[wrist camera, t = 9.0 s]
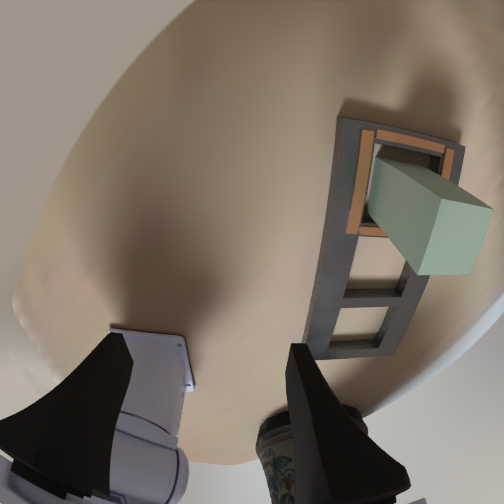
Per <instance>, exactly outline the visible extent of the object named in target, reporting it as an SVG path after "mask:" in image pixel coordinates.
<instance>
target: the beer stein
mask: <svg viewBox="0 0 504 504" xmlns="http://www.w3.org/2000/svg"><path fill="white" fill-rule="evenodd" d="M341 405H342V406H343V407H344V409H345V410H346V411H347V413H348V414H349V415H350V416H351V418H352V419H353V420H354V421H355V422H356V424H357V425H358V426H359V427H360V428H361V429H362V430H363V431H364V432H365V433H366V434H367V435H368V428H367V426H366V424H365V423H364V421H363V419H362V417H361V414H360V413H359V412H358V410H357V409H356V408H353V407H350V406H347V405H344V404H341ZM256 453H257V455H258V457H259V459H260V461H261V463H262V466H263V470H264V472H265V476H266V479H267V484H268V488H269V492H270V497H271V500H272V504H294V501H295V464H294V442H293V434H292V427H291V421H290V415H289V411H286V412H282V413H280V414H278V415H276V416H274V417H272V418H270V419H268V420H266V421H265V422H264V423H263V424H262V425H261V426H260V430H259V434H258V438H257V442H256Z"/></svg>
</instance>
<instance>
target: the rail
mask: <svg viewBox="0 0 504 504" xmlns="http://www.w3.org/2000/svg"><path fill="white" fill-rule="evenodd" d="M374 143H377V144H383V145H388V146H394V147H399V148H404V149H409V150H413V151H418V152H422V153H427V154H431V155H432V159H431V164H430V170H431V171H433V172H435V173H436V174H438V175H440V176H442V177H443V178H445V179H447V180H449V181H450V182H452V183H454V184H455V185H457V186H458V183H459V178H460V174H461V169H462V164H463V158H464V153H465V146H462V145H460V144H457V143H454V142H451V141H447V140H444V139H440V138H437V137H433V136H430V135H426V134H422V133H418V132H414V131H410V130H406V129H402V128H397V127H392V126H388V125H383V124H378V123H372V122H367V121H361V120H355V119H349V118H342V117H337V125H336V136H335V146H334V155H333V164H332V173H331V181H330V188H329V196H328V203H327V210H326V217H325V224H324V230H323V236H322V242H321V248H320V254H319V260H318V266H317V271H316V277H315V282H314V287H313V292H312V297H311V302H310V307H309V312H308V317H307V321H306V326H305V331H304V335H303V339H302V343H306V344H307V345H308V347H309V349H310V351H311V354H312V356H313V358H314V360H330V359H346V358H359V357H370V356H380V355H389V354H394V352H395V350H396V348H397V346H398V344H399V343H400V341H401V339H402V337H403V335H404V333H405V331H406V329H407V327H408V325H409V323H410V320H411V318H412V316H413V314H414V312H415V310H416V308H417V305H418V303H419V301H420V299H421V296H422V294H423V291H424V289H425V287H426V284H427V282H428V279H429V277H430V275H417V274H416V273H415V271H414V270H413V269H412V267H411V266H410V265H409V263H408V262H407V261H406V262H405V265H404V268H403V271H402V274H401V277H400V279H399V282H398V285H397V288H396V289H346V285H347V282H348V278H349V274H350V270H351V266H352V262H353V257H354V253H355V249H356V245H357V240H358V236H366V237H385V238H388V237H387V235H386V234H385V233H384V232H383V231H382V229H381V228H380V227H379V226H378V225H377V223H376V222H375V221H374V220H373V219H372V217H365V216H363V211H364V206H365V201H366V195H367V189H368V184H369V178H370V171H371V165H372V158H373V151H374ZM386 306H389V309H388V311H387V314H386V316H385V318H384V321H383V323H382V326H381V328H380V330H379V332H378V335H377V337H376V339H374V340H360V341H343V342H330V340H331V337H332V334H333V331H334V327H335V324H336V321H337V317H338V314H339V311H340V308H359V307H386Z"/></svg>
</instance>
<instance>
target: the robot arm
mask: <svg viewBox="0 0 504 504" xmlns="http://www.w3.org/2000/svg"><path fill="white" fill-rule="evenodd" d="M285 376H286V395H287V402H288V408H289V415H290V421H291V427H292V434H293V442H294V464H295V501H294V504H394V503H396V495H398V494H400V493H402V492H404V491H406V490H408V489H409V488H410V487H411V484H410V479H409V476H408V474H407V471H406V469H405V467H404V466H403V465H401V464H400V463H399V462H397V461H396V460H394V459H393V458H392V457H391V456H389V455H388V454H387V453H386V452H385V451H383V450H382V449H381V448H380V447H379V446H378V445H377V444H376V443H374V441H373V440H372V439H371V438H370V437H369V436H368V435H367V434H366V433H365V432H364V431H363V430H362V429H361V428H360V427H359V426H358V425H357V424H356V422H355V421H354V420H353V419H352V418H351V416H350V415H349V414H348V413H347V411H346V410H345V409H344V407H343V406H342V405H341V403H340V402H339V400H338V399H337V398H336V396H335V395H334V393H333V391H332V390H331V388H330V387H329V385H328V383H327V382H326V380H325V378H324V377H323V375H322V373H321V371H320V369H319V368H318V366H317V364H316V362H315V360H314V358H313V356H312V354H311V351H310V349H309V347H308V345H307V344H306V343H291V347H290V352H289V357H288V362H287V367H286V371H285ZM194 388H195V387H194V383H193V379H192V374H191V370H190V365H189V360H188V355H187V350H186V345H185V340H184V338H183V337H182V336H177V335H166V334H155V333H146V332H137V331H128V330H120V329H113V328H110V329H109V331H108V335H107V336H106V337H105V338H104V339H103V340H102V341H101V342H100V343H99V344H98V345H97V346H96V348H95V349H94V350H93V351H92V352H91V353H90V354H89V355H88V356H87V357H86V358H85V359H84V360H83V361H82V363H81V364H80V365H79V366H78V367H77V368H76V369H75V370H74V371H73V372H72V373H71V374H70V375H69V376H67V377H66V378H65V379H64V380H63V381H62V382H61V383H60V384H59V385H58V386H56V387H55V388H54V389H53V390H51V391H50V392H49V393H48V394H46V395H45V396H43V397H42V398H41V399H39V400H38V401H36V402H35V403H33V404H32V405H30V406H28V407H27V408H25V409H23V410H21V411H20V412H18V413H16V414H14V415H11V416H9V417H7V418H5V419H2V420H0V449H1V450H2V451H4V452H5V453H6V454H8V455H9V456H11V457H12V458H13V459H14V460H13V463H12V462H11V461H9V460H8V459H6V458H4V457H3V456H1V455H0V502H1V503H2V504H177V503H178V502H179V501H180V500H181V499H182V497H183V495H184V493H185V490H186V487H187V482H188V476H189V464H188V459H187V457H186V455H185V453H184V451H183V450H182V449H181V448H179V447H177V442H178V438H177V437H176V436H177V434H178V432H179V427H180V421H181V414H182V409H183V403H184V397H185V391H190V392H192V391H194ZM409 504H426V499H425V498H422V499H420V500H417V501H414V502H411V503H409Z"/></svg>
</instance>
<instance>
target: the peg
mask: <svg viewBox="0 0 504 504" xmlns="http://www.w3.org/2000/svg"><path fill="white" fill-rule="evenodd" d="M366 212H367V213H368V214H369V215H370V216H371V217H372V219H373V220H374V221H375V222H376V223H377V225H378V226H379V227H380V228H381V229H382V231H383V232H384V233H385V234H386V235H387V237H388V238H389V239H390V240H391V242H392V243H393V244H394V245H395V247H396V248H397V249H398V250H399V252H400V253H401V254H402V255H403V257H404V258H405V259H406V261H407V262H408V263H409V265H410V266H411V267H412V269H413V270H414V271H415V273H416V274H417V275H470V272H471V270H472V268H473V265H474V263H475V261H476V258H477V256H478V253H479V250H480V248H481V245H482V243H483V240H484V237H485V234H486V231H487V228H488V225H489V222H490V219H491V216H492V213H493V209H492V208H491V207H489V206H488V205H486V204H485V203H484V202H482V201H481V200H479V199H478V198H476V197H474V196H473V195H471V194H470V193H468V192H467V191H465V190H463V189H462V188H460V187H459V186H457V185H455V184H454V183H452V182H450V181H449V180H447V179H445V178H443V177H442V176H440V175H438V174H436V173H435V172H433V171H431V170H429V169H427V168H425V167H424V166H421V165H416V164H411V163H406V162H401V161H396V160H391V159H385V158H379V157H376V158H375V164H374V170H373V176H372V182H371V187H370V193H369V198H368V203H367V208H366Z"/></svg>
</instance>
